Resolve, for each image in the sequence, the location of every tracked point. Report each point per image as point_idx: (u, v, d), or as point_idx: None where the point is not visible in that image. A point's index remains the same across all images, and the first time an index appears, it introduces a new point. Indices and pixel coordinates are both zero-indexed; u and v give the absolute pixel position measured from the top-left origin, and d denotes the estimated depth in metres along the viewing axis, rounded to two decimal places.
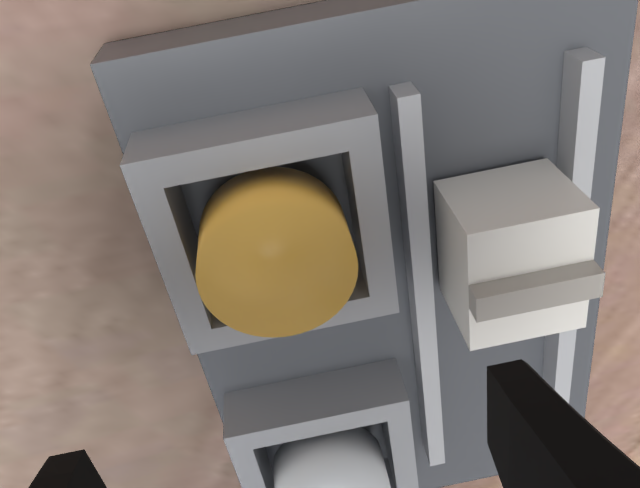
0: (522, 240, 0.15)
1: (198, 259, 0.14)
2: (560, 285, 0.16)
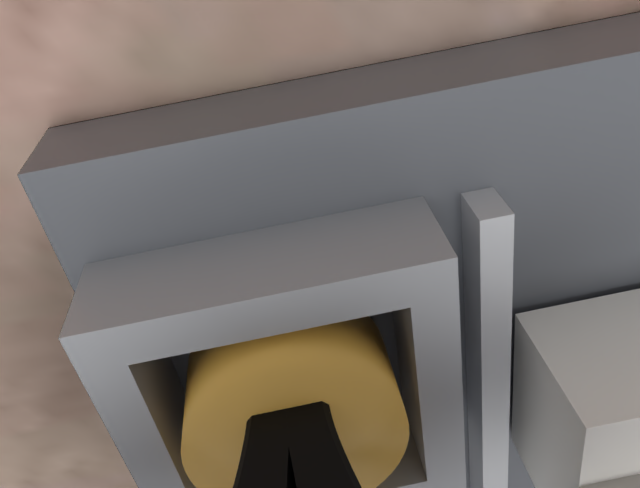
0: None
1: (184, 434, 0.10)
2: None
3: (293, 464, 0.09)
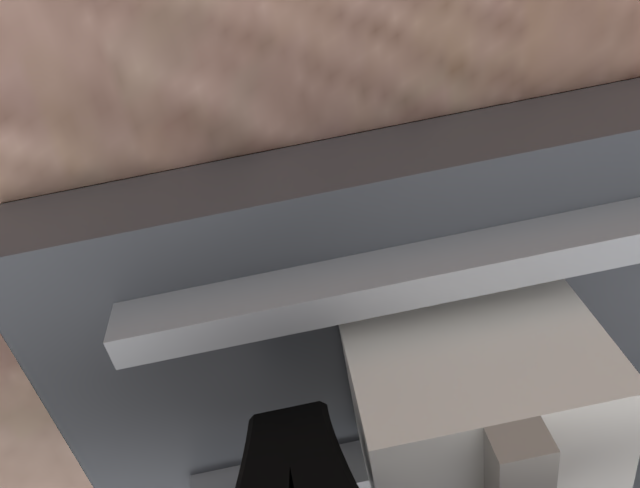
0: None
1: None
2: None
3: (295, 464, 0.09)
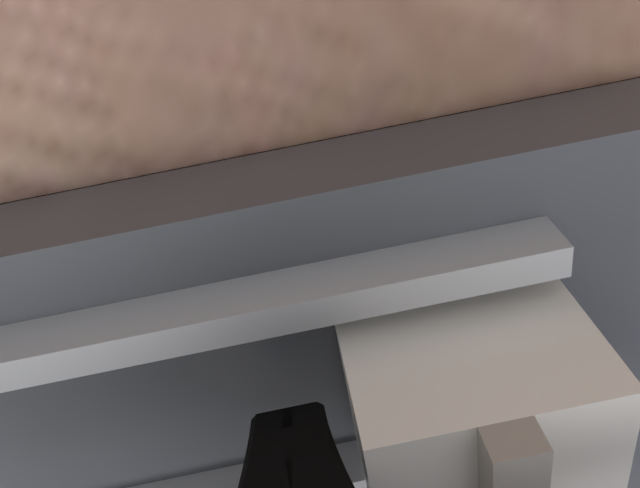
0: None
1: None
2: None
3: (298, 463, 0.09)
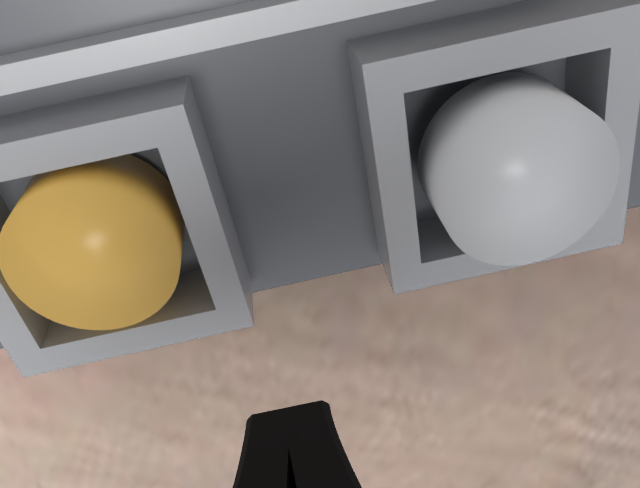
0: None
1: (81, 328, 0.15)
2: None
3: (293, 464, 0.09)
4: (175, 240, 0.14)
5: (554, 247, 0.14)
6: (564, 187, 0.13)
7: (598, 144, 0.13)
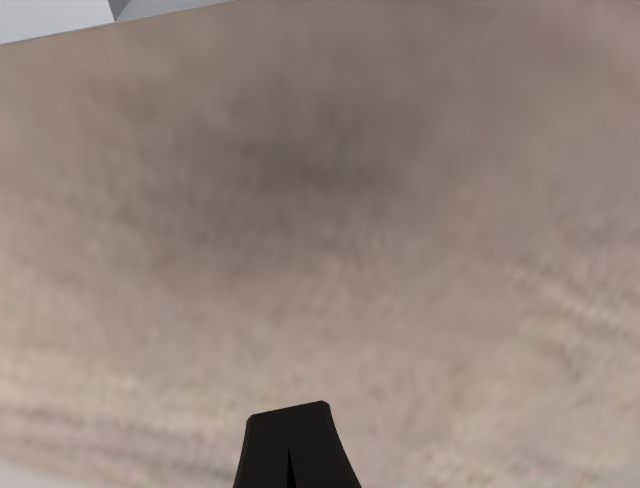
0: None
1: None
2: None
3: (293, 464, 0.09)
4: None
5: None
6: None
7: None
